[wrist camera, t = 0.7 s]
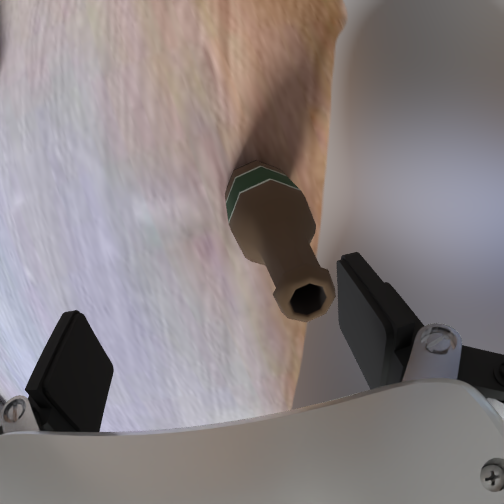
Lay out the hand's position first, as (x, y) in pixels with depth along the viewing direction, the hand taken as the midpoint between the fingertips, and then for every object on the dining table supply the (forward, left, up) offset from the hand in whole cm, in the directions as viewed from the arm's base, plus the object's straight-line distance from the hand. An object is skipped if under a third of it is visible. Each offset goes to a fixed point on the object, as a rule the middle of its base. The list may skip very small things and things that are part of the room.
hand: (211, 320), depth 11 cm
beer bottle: (+4, +5, -30) cm, 31 cm away
